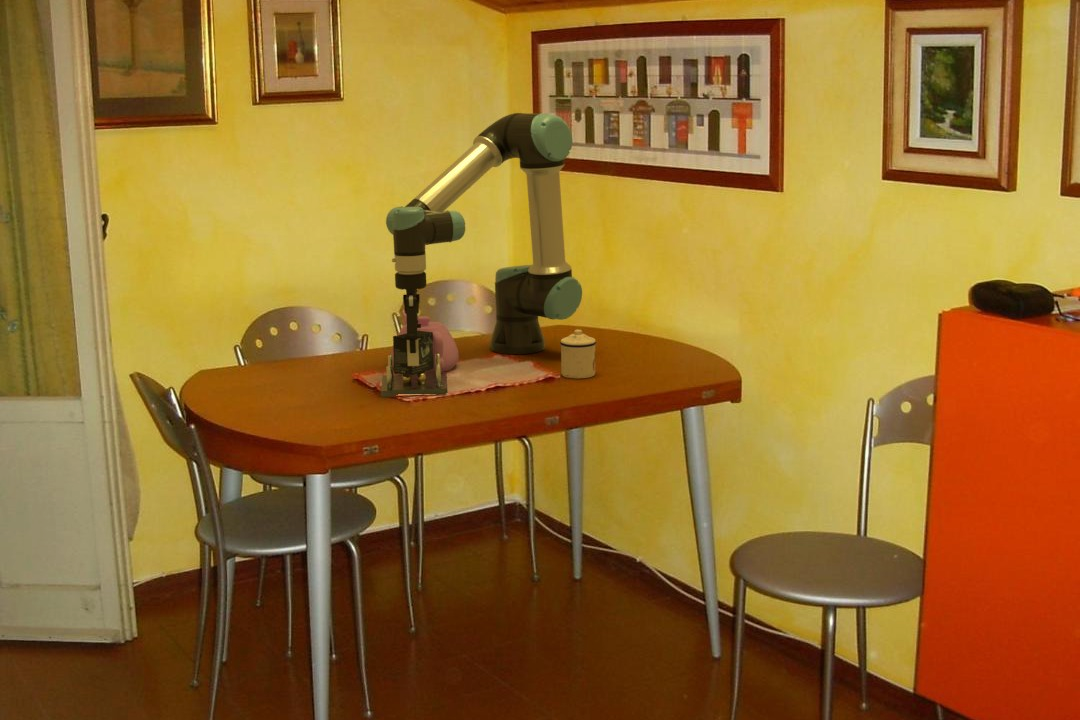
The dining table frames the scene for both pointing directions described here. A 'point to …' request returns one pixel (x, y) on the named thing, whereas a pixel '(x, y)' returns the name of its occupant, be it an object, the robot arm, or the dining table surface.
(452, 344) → the teapot
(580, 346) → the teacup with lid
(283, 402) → the dining table surface
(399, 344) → the box
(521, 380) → the dining table surface
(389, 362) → the chassis
